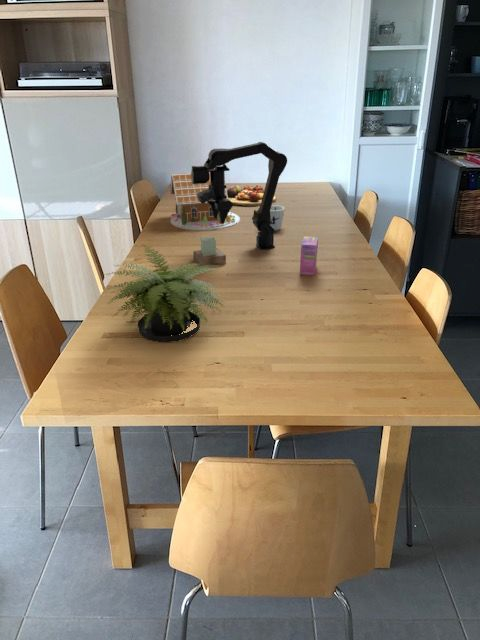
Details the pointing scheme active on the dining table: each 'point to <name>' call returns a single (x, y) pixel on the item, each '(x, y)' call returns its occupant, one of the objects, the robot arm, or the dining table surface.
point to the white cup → (276, 216)
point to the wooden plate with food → (246, 195)
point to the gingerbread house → (195, 206)
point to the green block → (208, 246)
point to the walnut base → (209, 258)
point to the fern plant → (166, 299)
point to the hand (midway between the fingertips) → (218, 220)
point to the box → (308, 255)
